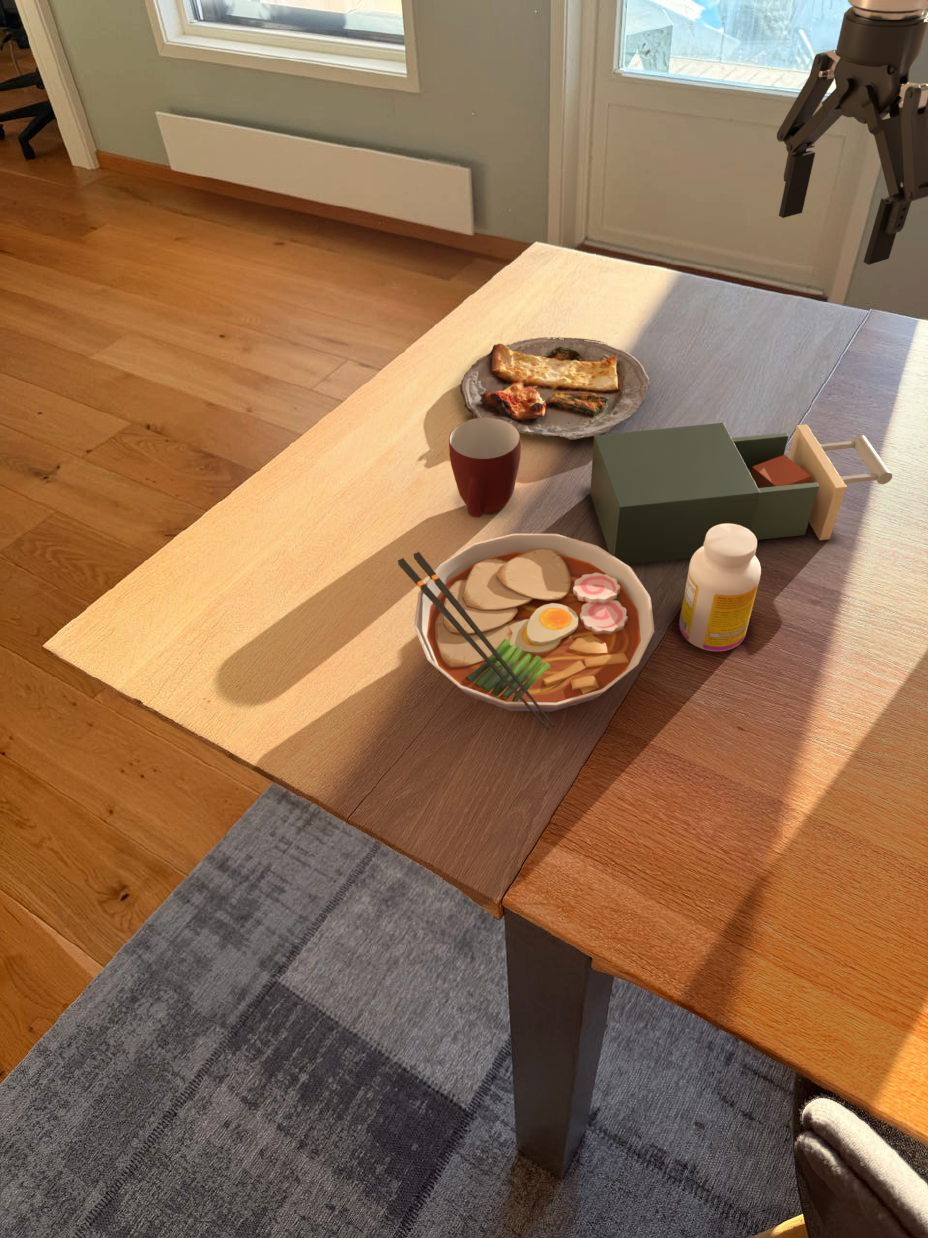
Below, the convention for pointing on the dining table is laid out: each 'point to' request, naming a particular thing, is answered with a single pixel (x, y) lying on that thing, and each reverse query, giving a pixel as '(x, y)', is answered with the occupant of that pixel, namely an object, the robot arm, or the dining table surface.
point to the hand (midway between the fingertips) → (831, 236)
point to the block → (779, 473)
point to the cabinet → (668, 490)
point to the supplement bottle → (721, 589)
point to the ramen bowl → (532, 620)
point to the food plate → (556, 386)
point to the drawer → (808, 502)
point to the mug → (485, 463)
